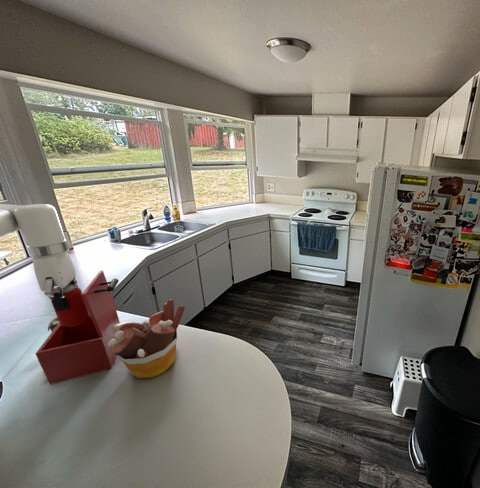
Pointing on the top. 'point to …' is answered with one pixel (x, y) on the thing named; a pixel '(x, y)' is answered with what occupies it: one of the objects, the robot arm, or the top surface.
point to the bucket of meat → (148, 342)
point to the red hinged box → (76, 351)
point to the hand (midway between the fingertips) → (68, 302)
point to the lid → (100, 302)
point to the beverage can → (72, 307)
